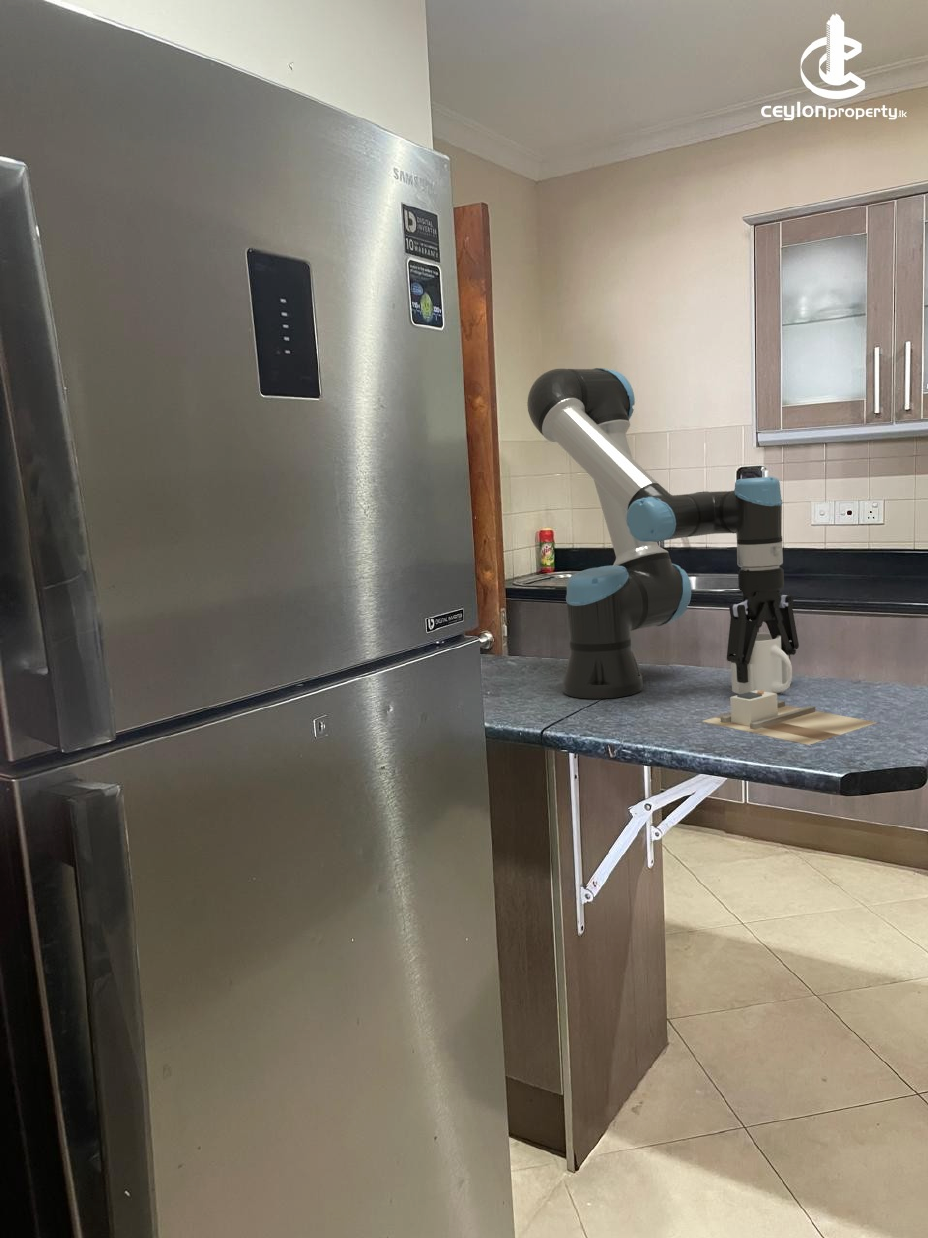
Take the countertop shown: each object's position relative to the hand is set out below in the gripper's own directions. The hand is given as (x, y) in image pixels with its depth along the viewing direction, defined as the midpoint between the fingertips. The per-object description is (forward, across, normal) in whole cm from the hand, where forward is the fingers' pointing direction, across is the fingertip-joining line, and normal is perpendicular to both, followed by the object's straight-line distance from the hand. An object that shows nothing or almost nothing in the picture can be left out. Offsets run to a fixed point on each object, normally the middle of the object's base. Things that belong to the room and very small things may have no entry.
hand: (764, 695), depth 164 cm
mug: (+1, 0, 0) cm, 1 cm away
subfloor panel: (0, -14, -16) cm, 21 cm away
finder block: (-1, -17, -12) cm, 21 cm away
